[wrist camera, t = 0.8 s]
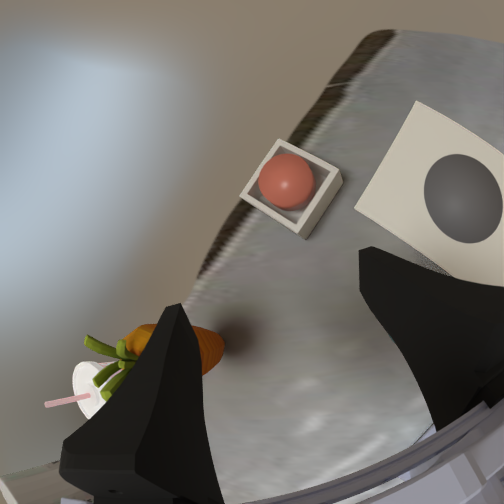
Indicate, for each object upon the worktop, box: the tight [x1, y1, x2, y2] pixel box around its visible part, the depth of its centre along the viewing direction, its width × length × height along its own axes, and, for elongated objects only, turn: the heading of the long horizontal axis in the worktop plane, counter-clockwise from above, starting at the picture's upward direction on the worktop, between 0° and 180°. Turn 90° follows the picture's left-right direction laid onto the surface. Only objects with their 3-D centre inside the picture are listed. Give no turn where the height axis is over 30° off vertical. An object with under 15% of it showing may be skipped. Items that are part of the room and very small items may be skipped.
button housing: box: [240, 139, 343, 240], centre depth 25 cm, size 6×6×3 cm
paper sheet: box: [354, 101, 504, 286], centre depth 20 cm, size 18×13×1 cm
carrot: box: [84, 324, 225, 401], centre depth 20 cm, size 5×5×15 cm
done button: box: [258, 154, 316, 211], centre depth 23 cm, size 4×4×2 cm
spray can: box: [0, 460, 94, 504], centre depth 19 cm, size 6×6×20 cm
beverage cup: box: [44, 361, 122, 419], centre depth 23 cm, size 6×6×14 cm
